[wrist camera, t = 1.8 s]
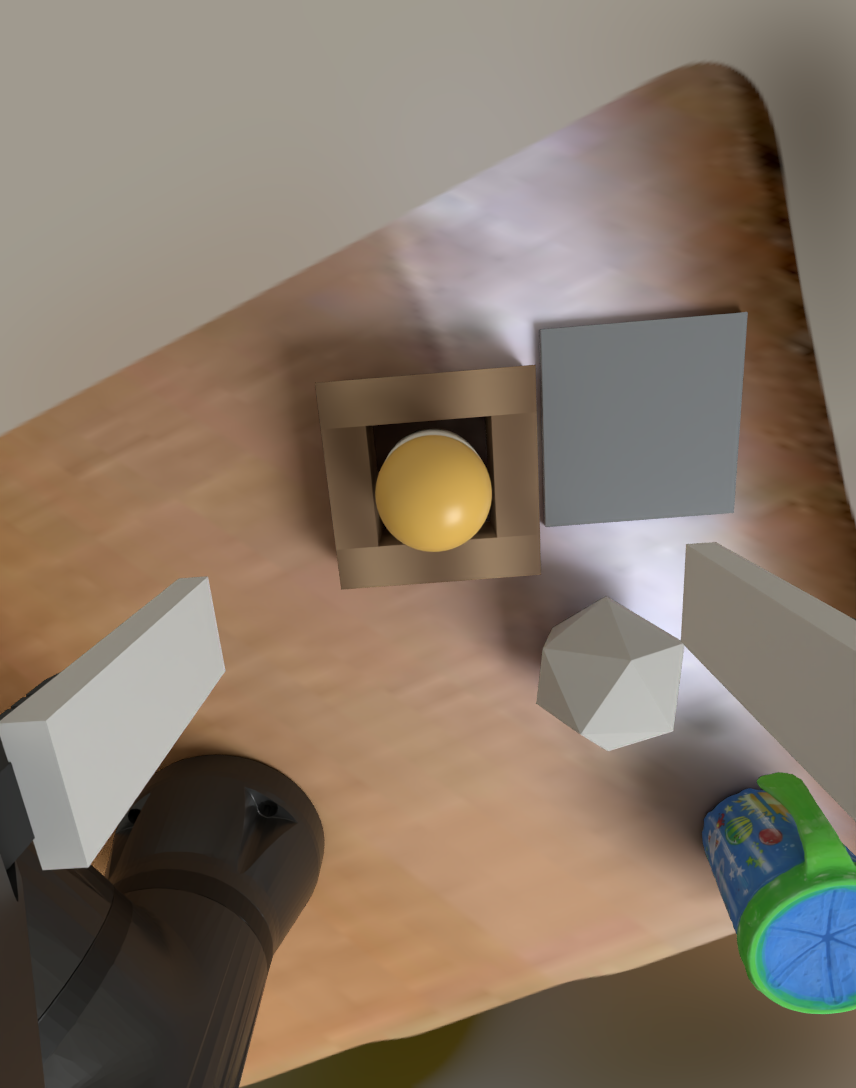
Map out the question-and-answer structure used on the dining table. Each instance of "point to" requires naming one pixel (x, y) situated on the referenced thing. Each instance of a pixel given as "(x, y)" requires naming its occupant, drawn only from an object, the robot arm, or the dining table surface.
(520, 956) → the dining table surface
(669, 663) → the die
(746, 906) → the snack cup
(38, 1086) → the robot arm
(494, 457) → the brown square tray
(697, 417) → the coaster
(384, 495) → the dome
